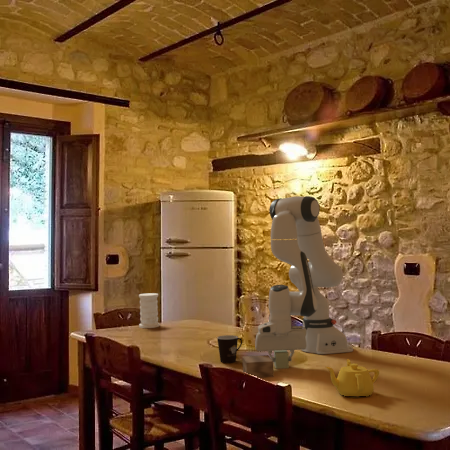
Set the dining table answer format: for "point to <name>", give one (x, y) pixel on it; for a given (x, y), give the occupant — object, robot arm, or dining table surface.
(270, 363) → the walnut box
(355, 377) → the teapot
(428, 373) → the dining table surface
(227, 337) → the coffee mug
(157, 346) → the dining table surface
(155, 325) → the decorative container
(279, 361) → the green cube
